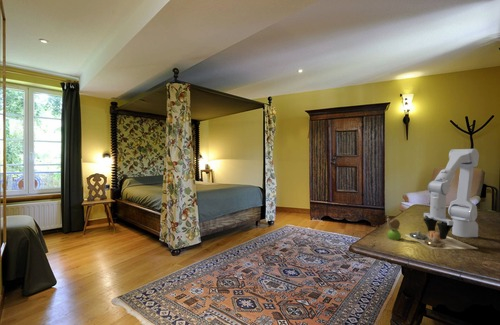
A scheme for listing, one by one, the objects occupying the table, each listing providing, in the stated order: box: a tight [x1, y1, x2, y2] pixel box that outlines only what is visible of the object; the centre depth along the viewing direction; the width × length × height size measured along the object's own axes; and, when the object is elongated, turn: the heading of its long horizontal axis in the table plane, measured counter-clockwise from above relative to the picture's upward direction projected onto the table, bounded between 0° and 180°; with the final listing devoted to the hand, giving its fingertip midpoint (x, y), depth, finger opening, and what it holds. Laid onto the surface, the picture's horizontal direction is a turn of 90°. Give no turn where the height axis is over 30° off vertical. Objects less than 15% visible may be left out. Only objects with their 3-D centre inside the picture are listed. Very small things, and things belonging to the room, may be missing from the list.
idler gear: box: [428, 230, 444, 240], centre depth 110 cm, size 6×6×2 cm
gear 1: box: [409, 232, 428, 240], centre depth 114 cm, size 7×7×1 cm
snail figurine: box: [386, 215, 402, 241], centre depth 113 cm, size 5×6×12 cm
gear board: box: [404, 230, 479, 250], centre depth 110 cm, size 20×18×5 cm
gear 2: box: [424, 239, 445, 248], centre depth 105 cm, size 7×7×2 cm
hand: (437, 236), depth 110 cm, fingers closed on idler gear, 6 cm apart
